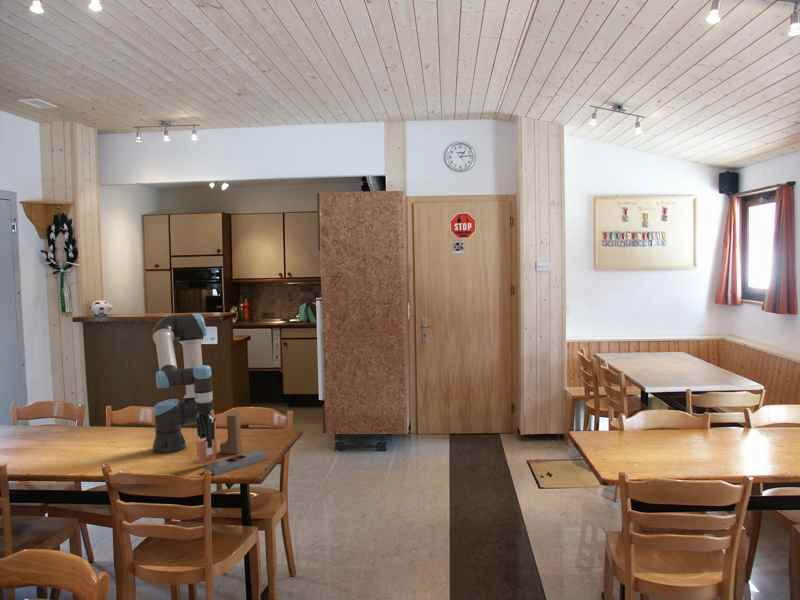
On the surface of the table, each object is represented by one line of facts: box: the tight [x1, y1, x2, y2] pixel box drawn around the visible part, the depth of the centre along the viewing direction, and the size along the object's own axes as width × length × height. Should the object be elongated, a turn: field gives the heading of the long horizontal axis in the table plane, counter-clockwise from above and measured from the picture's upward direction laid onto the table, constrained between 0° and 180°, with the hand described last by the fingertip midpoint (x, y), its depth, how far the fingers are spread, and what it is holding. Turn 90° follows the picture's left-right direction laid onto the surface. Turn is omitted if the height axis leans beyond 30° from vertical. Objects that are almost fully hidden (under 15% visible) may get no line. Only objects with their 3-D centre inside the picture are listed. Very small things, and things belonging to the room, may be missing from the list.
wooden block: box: [219, 413, 243, 455], centre depth 289 cm, size 9×4×18 cm, turn 74°
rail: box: [203, 449, 268, 476], centre depth 269 cm, size 8×26×3 cm, turn 137°
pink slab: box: [195, 437, 218, 465], centre depth 271 cm, size 3×8×10 cm, turn 137°
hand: (207, 453), depth 271 cm, fingers closed on pink slab, 3 cm apart
